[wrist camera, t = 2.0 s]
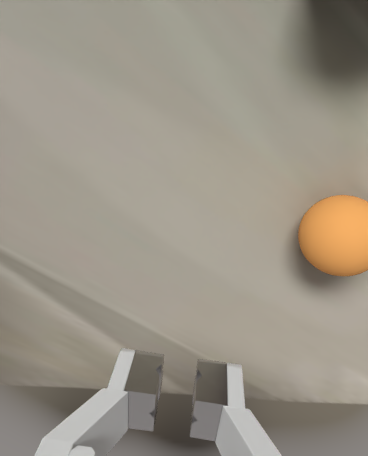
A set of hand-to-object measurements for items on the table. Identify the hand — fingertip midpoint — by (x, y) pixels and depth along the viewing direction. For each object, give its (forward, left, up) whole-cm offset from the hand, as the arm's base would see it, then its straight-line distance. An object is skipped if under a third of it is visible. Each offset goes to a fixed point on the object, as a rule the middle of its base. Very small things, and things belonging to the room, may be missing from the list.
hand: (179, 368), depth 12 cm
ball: (+10, 0, -12) cm, 16 cm away
